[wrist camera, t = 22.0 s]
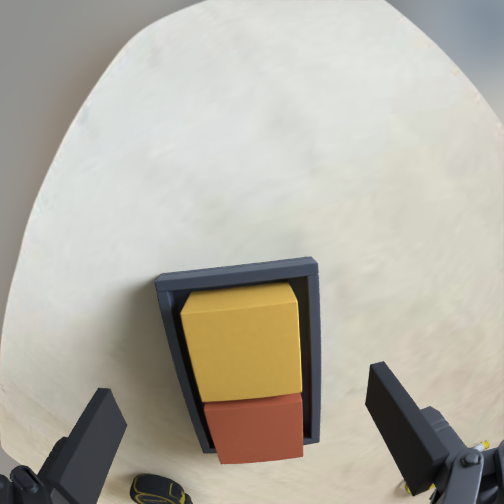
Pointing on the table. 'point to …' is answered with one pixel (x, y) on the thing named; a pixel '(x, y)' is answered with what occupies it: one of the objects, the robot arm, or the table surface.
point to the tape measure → (157, 491)
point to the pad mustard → (244, 341)
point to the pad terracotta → (256, 428)
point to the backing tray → (292, 270)
